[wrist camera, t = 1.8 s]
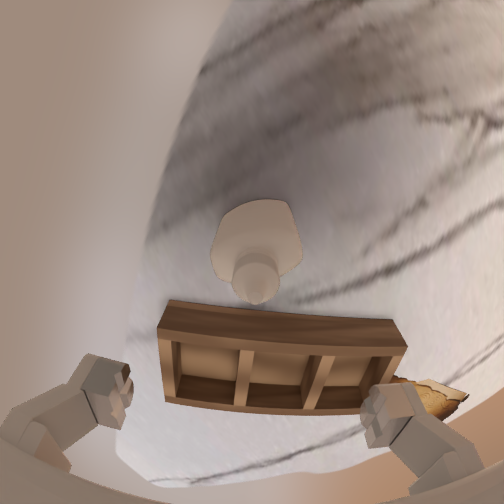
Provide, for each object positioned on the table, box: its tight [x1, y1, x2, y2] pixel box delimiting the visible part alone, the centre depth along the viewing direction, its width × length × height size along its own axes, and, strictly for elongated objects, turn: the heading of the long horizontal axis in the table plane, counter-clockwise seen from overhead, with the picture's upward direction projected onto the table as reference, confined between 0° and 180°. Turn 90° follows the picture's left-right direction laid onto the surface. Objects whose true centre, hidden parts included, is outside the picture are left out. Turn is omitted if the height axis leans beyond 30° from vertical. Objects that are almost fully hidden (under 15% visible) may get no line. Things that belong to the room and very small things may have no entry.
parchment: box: [389, 375, 469, 421], centre depth 35 cm, size 25×10×1 cm, turn 60°
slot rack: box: [157, 300, 408, 416], centre depth 28 cm, size 10×23×4 cm, turn 84°
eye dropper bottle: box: [210, 199, 303, 305], centre depth 19 cm, size 4×6×12 cm
